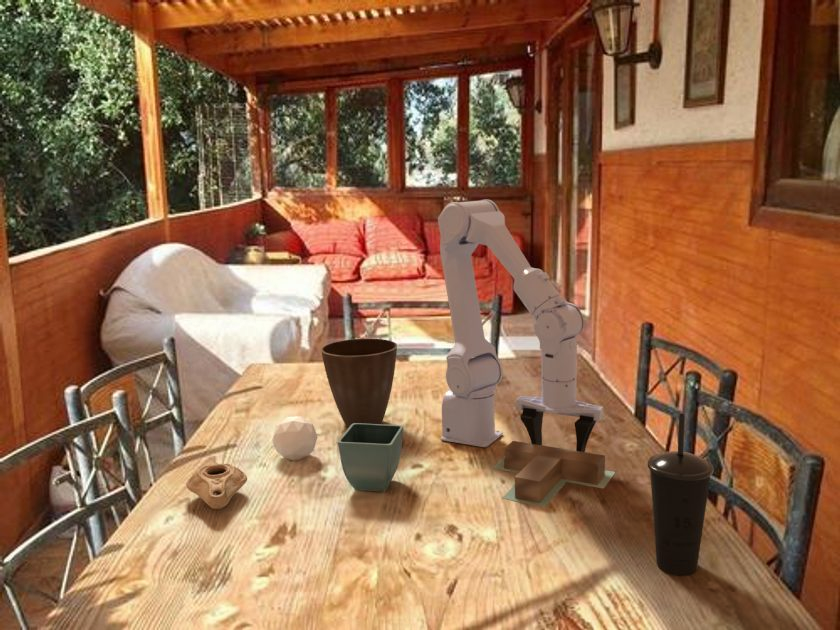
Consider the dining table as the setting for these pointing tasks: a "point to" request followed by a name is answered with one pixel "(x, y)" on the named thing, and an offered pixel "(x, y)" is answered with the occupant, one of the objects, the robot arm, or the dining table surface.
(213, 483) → the pottery oil lamp
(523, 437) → the dining table surface
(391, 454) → the flower pot
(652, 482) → the drinking cup
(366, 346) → the plant pot
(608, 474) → the t mat
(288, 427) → the geometric ball
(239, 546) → the dining table surface
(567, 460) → the t block
